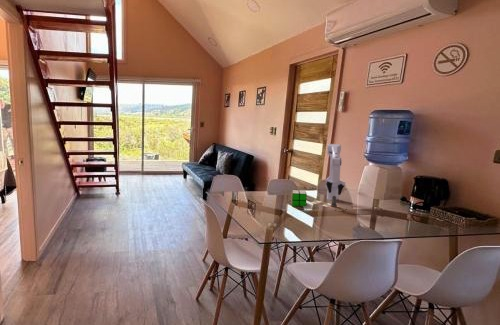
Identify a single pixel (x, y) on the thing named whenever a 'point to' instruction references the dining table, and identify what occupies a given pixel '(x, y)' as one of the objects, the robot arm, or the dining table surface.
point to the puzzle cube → (298, 198)
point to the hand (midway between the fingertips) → (334, 193)
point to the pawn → (333, 202)
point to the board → (329, 205)
